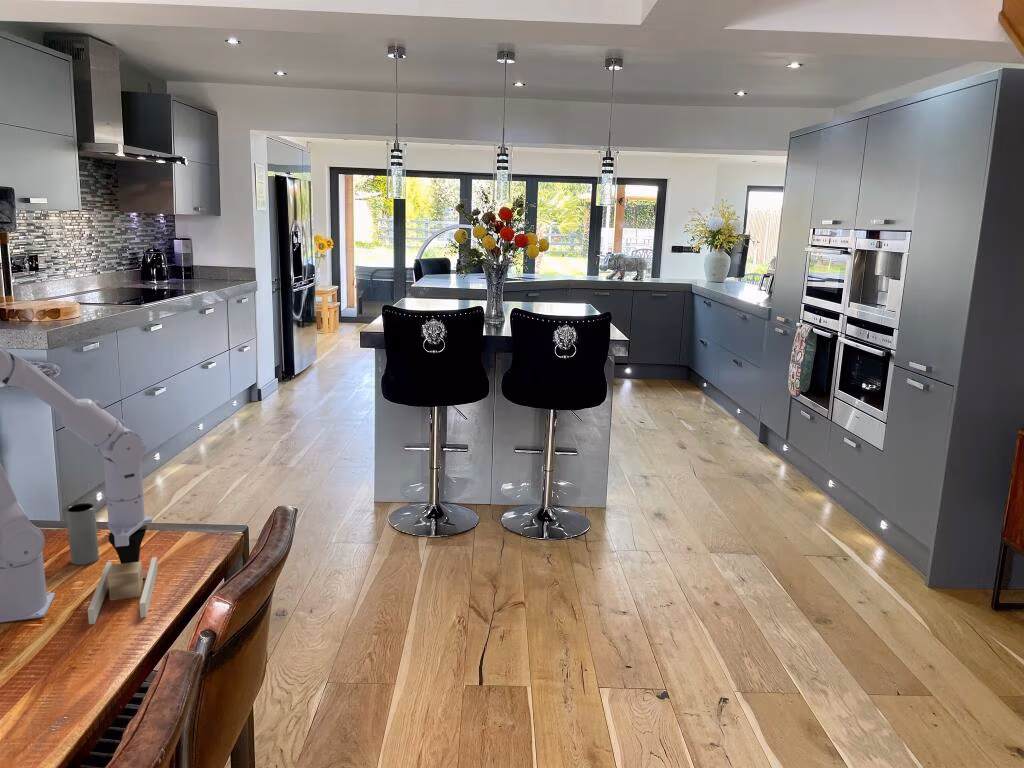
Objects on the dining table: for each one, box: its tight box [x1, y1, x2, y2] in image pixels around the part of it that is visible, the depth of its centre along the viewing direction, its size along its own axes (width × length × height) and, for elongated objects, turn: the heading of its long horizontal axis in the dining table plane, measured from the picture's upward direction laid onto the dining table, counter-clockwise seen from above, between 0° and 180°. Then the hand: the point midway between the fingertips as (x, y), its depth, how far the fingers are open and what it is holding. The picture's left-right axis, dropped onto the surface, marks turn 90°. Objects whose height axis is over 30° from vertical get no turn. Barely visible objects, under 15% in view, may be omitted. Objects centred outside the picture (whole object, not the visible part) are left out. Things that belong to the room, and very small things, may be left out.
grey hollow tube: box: [65, 502, 100, 566], centre depth 141 cm, size 4×4×10 cm
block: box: [108, 561, 144, 601], centre depth 130 cm, size 4×4×4 cm
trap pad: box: [142, 568, 149, 580], centre depth 136 cm, size 6×4×1 cm, turn 109°
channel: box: [87, 556, 159, 625], centre depth 129 cm, size 8×18×2 cm, turn 19°
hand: (130, 569), depth 135 cm, fingers closed
